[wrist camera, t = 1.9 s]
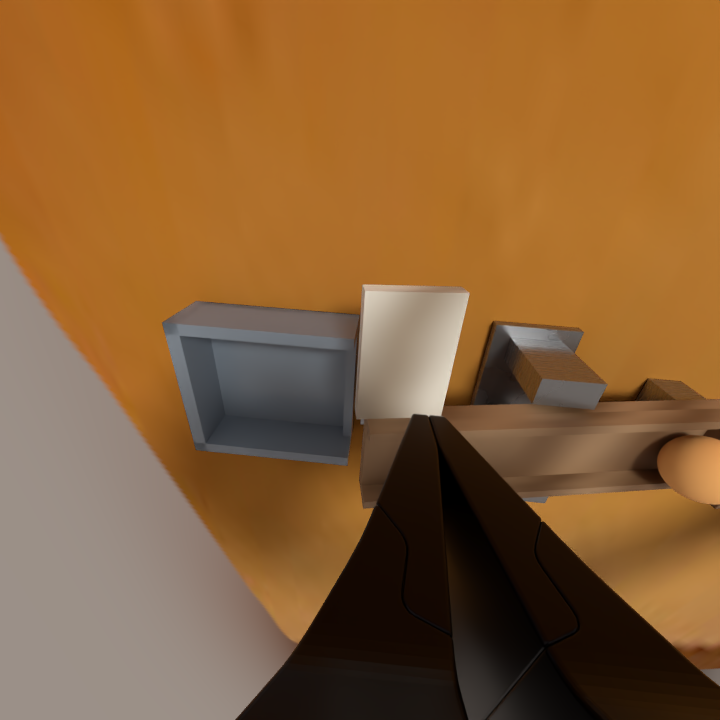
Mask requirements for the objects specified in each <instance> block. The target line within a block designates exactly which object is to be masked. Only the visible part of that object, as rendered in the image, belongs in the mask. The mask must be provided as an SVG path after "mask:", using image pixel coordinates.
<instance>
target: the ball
mask: <svg viewBox="0 0 720 720" xmlns="http://www.w3.org/2000/svg"><path fill="white" fill-rule="evenodd" d="M657 467H658V470H659V473H660V475H661V477H662V478H663V480H664V481H665V482H666V483H667V484H668V485H669V486H670V487H671V488H672V489H673V490H674V491H676V492H677V493H679V494H680V495H682V496H684V497H686V498H688V499H691V500H693V501H696V502H700V503H705V504H715V505H716V504H720V440H718V439H715V438H711V437H707V436H700V435H688V436H681V437H678V438H675V439H673V440H671V441H669V442H667V443H666V444H665V445H664V446H663V447H662V448H661V450H660V451H659V454H658V457H657Z"/></svg>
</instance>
